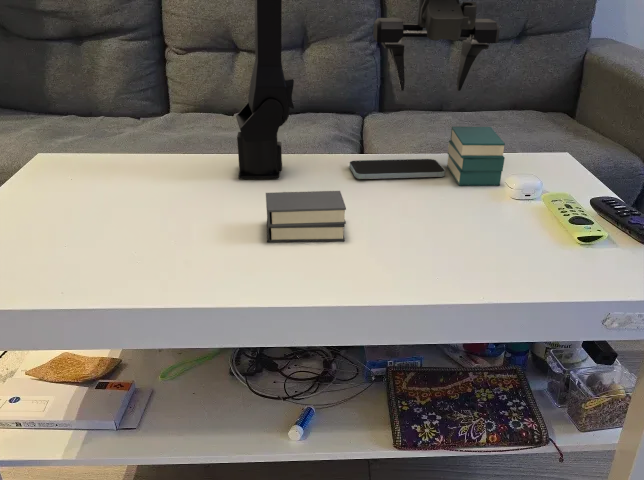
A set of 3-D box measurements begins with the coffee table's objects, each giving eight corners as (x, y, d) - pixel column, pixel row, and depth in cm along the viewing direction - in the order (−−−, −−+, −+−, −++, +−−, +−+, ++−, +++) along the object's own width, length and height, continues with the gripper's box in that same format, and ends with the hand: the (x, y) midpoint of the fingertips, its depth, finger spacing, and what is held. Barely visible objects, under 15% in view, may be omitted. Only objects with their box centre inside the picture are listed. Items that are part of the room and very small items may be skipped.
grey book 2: (267, 242, 86) (266, 226, 85) (268, 223, 92) (267, 207, 90) (344, 241, 87) (344, 225, 86) (341, 222, 92) (341, 207, 91)
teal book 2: (502, 171, 105) (504, 157, 104) (462, 172, 104) (463, 158, 103) (484, 153, 113) (486, 139, 112) (447, 153, 112) (448, 140, 111)
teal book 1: (450, 140, 111) (451, 126, 110) (488, 140, 111) (490, 126, 110) (461, 157, 103) (462, 143, 102) (502, 158, 103) (504, 143, 102)
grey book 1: (267, 226, 85) (267, 210, 84) (266, 208, 90) (265, 192, 89) (345, 224, 86) (346, 207, 85) (339, 206, 91) (340, 190, 90)
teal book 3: (499, 185, 106) (501, 171, 105) (459, 185, 106) (460, 172, 104) (484, 166, 114) (486, 153, 113) (446, 166, 114) (448, 153, 112)
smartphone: (447, 172, 108) (356, 174, 106) (446, 177, 109) (356, 180, 107) (434, 158, 114) (348, 160, 112) (433, 163, 115) (348, 166, 113)
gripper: (383, -19, 92) (378, 101, 100) (517, -17, 93) (500, 101, 101) (375, -25, 101) (370, 86, 109) (496, -23, 102) (482, 86, 111)
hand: (430, 90), depth 108 cm, fingers open, 9 cm apart
